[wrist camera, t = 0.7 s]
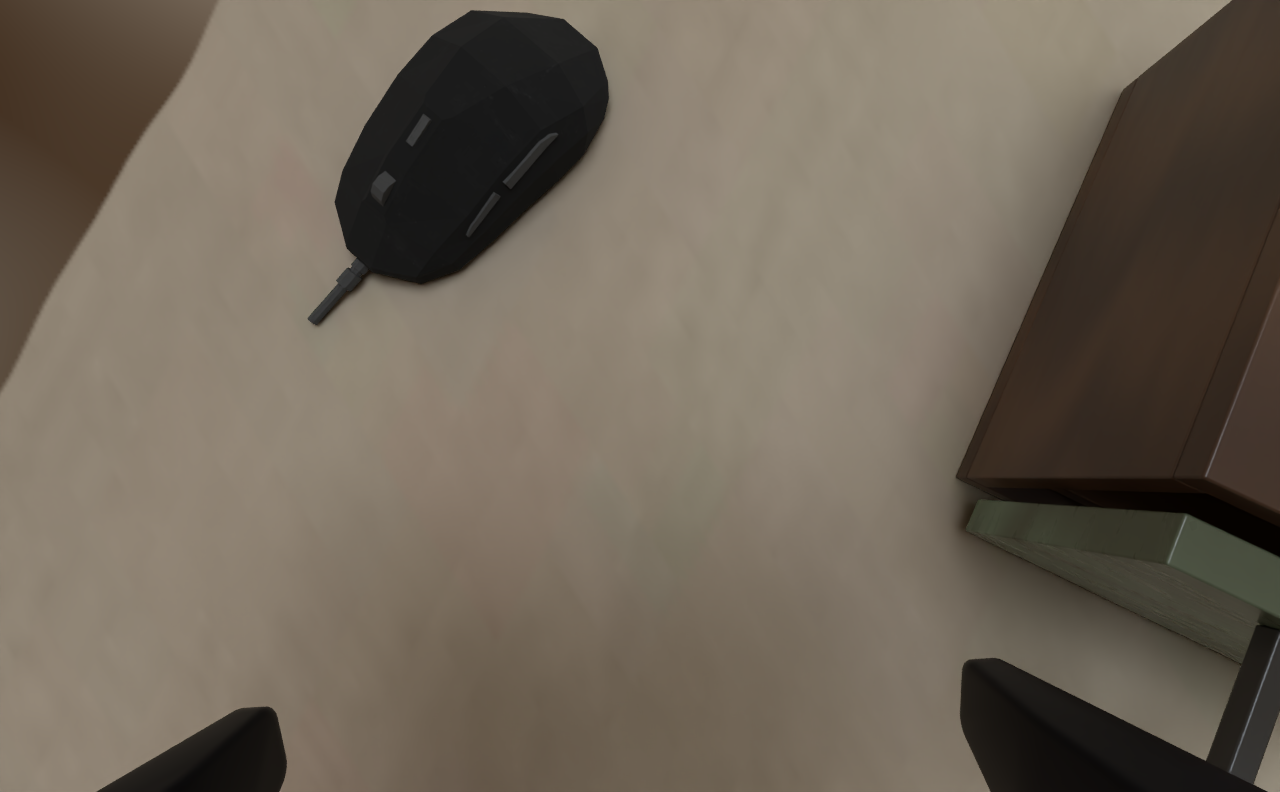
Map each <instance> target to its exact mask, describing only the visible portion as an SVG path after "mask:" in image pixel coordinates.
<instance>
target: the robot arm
mask: <svg viewBox="0 0 1280 792" xmlns="http://www.w3.org/2000/svg"><path fill="white" fill-rule="evenodd" d="M960 719H961V725H962V729H963V732H964V735H965V737H966V740H967V742H968V744H969V746H970V748H971V750H972V753H973V755H974V757H975V759H976V761H977V763H978V765H979V768H980V770H981V772H982V774H983V776H984V778H985V780H986V783H987V785H988V787H989V789H990V791H991V792H1267V791H1265V790H1263V789H1261V788H1259V787H1257V786H1255V785H1253V784H1251V783H1249V782H1247V781H1245V780H1243V779H1241V778H1239V777H1237V776H1235V775H1233V774H1231V773H1229V772H1227V771H1225V770H1223V769H1221V768H1219V767H1217V766H1215V765H1213V764H1211V763H1209V762H1207V761H1205V760H1202V759H1200V758H1198V757H1196V756H1194V755H1192V754H1190V753H1188V752H1186V751H1184V750H1182V749H1180V748H1178V747H1176V746H1174V745H1172V744H1170V743H1168V742H1166V741H1164V740H1162V739H1160V738H1158V737H1156V736H1154V735H1152V734H1150V733H1148V732H1146V731H1144V730H1142V729H1140V728H1138V727H1136V726H1134V725H1132V724H1130V723H1128V722H1126V721H1124V720H1122V719H1120V718H1118V717H1116V716H1114V715H1112V714H1110V713H1108V712H1106V711H1104V710H1102V709H1100V708H1098V707H1096V706H1094V705H1092V704H1090V703H1088V702H1085V701H1083V700H1081V699H1079V698H1077V697H1075V696H1073V695H1071V694H1069V693H1067V692H1065V691H1063V690H1061V689H1059V688H1057V687H1055V686H1053V685H1051V684H1049V683H1047V682H1045V681H1043V680H1041V679H1039V678H1037V677H1035V676H1033V675H1031V674H1029V673H1027V672H1025V671H1023V670H1021V669H1019V668H1017V667H1015V666H1013V665H1011V664H1009V663H1007V662H1005V661H1003V660H1001V659H997V658H986V659H972V660H968V661H967V662H965V663H964V665H963V668H962V680H961V704H960ZM286 768H287V760H286V754H285V749H284V745H283V740H282V735H281V731H280V726H279V722H278V717H277V714H276V712H275V711H274V710H273V709H272V708H270V707H252V708H241V709H238V710H235V711H234V712H232V713H230V714H228V715H227V716H225V717H223V718H222V719H220V720H218V721H216V722H215V723H213V724H211V725H210V726H208V727H206V728H205V729H203V730H201V731H199V732H198V733H196V734H194V735H193V736H191V737H189V738H187V739H186V740H184V741H182V742H181V743H179V744H177V745H175V746H174V747H172V748H170V749H169V750H167V751H165V752H164V753H162V754H160V755H158V756H157V757H155V758H153V759H152V760H150V761H148V762H146V763H145V764H143V765H141V766H140V767H138V768H136V769H134V770H133V771H131V772H129V773H128V774H126V775H124V776H123V777H121V778H119V779H117V780H116V781H114V782H112V783H111V784H109V785H107V786H105V787H104V788H102V789H100V790H99V791H97V792H279V791H280V789H281V787H282V784H283V781H284V778H285V774H286Z"/></svg>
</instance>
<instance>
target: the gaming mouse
mask: <svg viewBox="0 0 1280 792" xmlns="http://www.w3.org/2000/svg"><path fill="white" fill-rule="evenodd" d="M608 99H609V94H608V80H607V77H606V74H605V71H604V67H603V64H602V61H601V58H600V55H599V52H598V48H597V47H596V46H595V45H593V44H592V43H591V42H590V41H589V40H587V39H586V38H585V37H584V36H583V35H582V34H580V33H579V32H578V31H577V30H576V29H575V28H573V27H572V26H571V25H570V24H569V23H568V22H566V21H565V20H564V19H560V18H554V17H548V16H543V15H537V14H531V13H520V12H497V11H474V10H471V11H470V12H468V13H467V14H465V15H463V16H462V17H460V18H459V19H457V20H456V21H454V22H452V23H451V24H449V25H448V26H446V27H445V28H443V29H442V30H440V31H438V32H437V33H435V34H434V35H432V36H431V37H430V39H429V40H428V41H427V42H426V43H425V44H424V45H423V47H422V48H421V49H420V50H419V51H418V52H417V53H416V54H415V56H414V57H413V58H412V59H411V60H410V61H409V62H408V64H407V65H406V66H405V67H404V68H403V69H402V70H401V72H400V73H399V74H398V75H397V77H396V78H395V80H394V81H393V83H392V84H391V86H390V87H389V89H388V91H387V92H386V94H385V95H384V97H383V98H382V100H381V101H380V103H379V104H378V106H377V108H376V109H375V111H374V112H373V114H372V115H371V117H370V118H369V120H368V121H367V123H366V125H365V126H364V128H363V130H362V132H361V134H360V137H359V139H358V141H357V143H356V145H355V147H354V149H353V151H352V153H351V155H350V157H349V159H348V161H347V163H346V165H345V167H344V169H343V171H342V175H341V179H340V183H339V187H338V191H337V195H336V199H335V205H336V209H337V213H338V217H339V220H340V224H341V228H342V232H343V236H344V239H345V243H346V247H347V249H348V250H349V251H350V252H351V253H352V254H353V255H354V256H356V257H357V258H356V260H355V261H354V262H353V263H352V264H351V265H352V267H351V268H347V269H346V270H345V271H344V272H343V273H342V274H341V275H340V276H339V278H338V279H337V280H336V281H337V282H338V284H337V285H336V287H335V288H334V289H333V290H332V291H331V292H330V293H329V294H328V296H327V297H326V298H325V299H324V300H323V301H322V302H321V304H320V305H319V306H318V307H317V308H316V309H315V310H314V312H313V313H312V314H311V315H310V316H309V317H308V320H309V321H310V322H312V323H313V324H315V325H317V324H318V323H319V322H320V321H321V319H322V318H323V317H324V316H325V315H326V314H327V313H328V311H329V310H330V309H331V308H332V307H333V306H334V305H335V304H336V302H337V301H338V300H339V299H340V298H341V297H342V296H343V294H344V293H345V292H346V291H347V290H348V291H352V290H353V288H354V287H355V286H356V285H357V284H358V283H359V282H360V281H361V279H362V278H361V277H360V276H361V275H362V274H366V273H367V271H368V270H369V269H370V270H371V271H372V272H374V273H378V274H382V275H387V276H391V277H395V278H399V279H403V280H408V281H412V282H416V283H420V284H422V283H424V282H427V281H430V280H433V279H435V278H438V277H441V276H444V275H446V274H449V273H452V272H455V271H458V270H460V269H461V268H462V267H463V266H465V265H466V264H467V263H468V262H469V261H470V260H472V259H473V258H474V257H475V256H476V255H477V254H479V253H480V252H481V251H482V250H483V249H484V248H485V247H487V246H488V245H489V244H490V243H491V242H492V241H494V240H495V239H496V238H497V237H498V236H499V235H500V234H501V233H502V232H503V231H504V230H505V229H506V228H507V227H508V226H509V225H510V224H511V223H512V222H513V221H514V220H516V219H517V218H518V217H519V216H520V215H521V214H522V213H523V212H524V211H525V210H526V209H527V208H528V207H529V206H530V205H531V204H532V203H534V202H535V201H536V200H537V199H538V198H539V197H540V196H541V195H543V194H544V193H545V192H546V191H547V190H548V189H549V188H550V187H552V186H553V185H554V184H555V183H556V182H557V181H558V180H559V179H560V178H561V177H562V176H563V175H564V174H565V173H566V172H567V171H568V170H569V169H570V168H571V167H572V166H573V165H574V164H575V163H576V162H577V161H578V160H579V159H580V158H581V157H582V156H583V155H584V153H585V151H586V149H587V148H588V146H589V144H590V142H591V141H592V139H593V137H594V135H595V133H596V132H597V130H598V128H599V126H600V125H601V123H602V121H603V119H604V116H605V112H606V108H607V103H608Z"/></svg>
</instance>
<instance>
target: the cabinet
mask: <svg viewBox="0 0 1280 792" xmlns="http://www.w3.org/2000/svg"><path fill="white" fill-rule="evenodd" d="M957 478H958V479H960V480H962V481H964V482H966V483H968V484H970V485H972V486H975V487H977V488H979V489H981V490H983V491H985V492H987V493H989V494H991V495H993V496H995V497H998V498H1000V499H1002V500H1004V501H1011V502H1026V503H1041V504H1056V505H1071V506H1085V505H1083V504H1081V503H1079V502H1077V501H1074V500H1072V499H1070V498H1068V497H1066V496H1064V495H1062V494H1060V493H1058V492H1055V491H1053V490H1051V489H1066V490H1100V491H1135V492H1170V493H1207V494H1209V495H1211V496H1214V497H1216V498H1218V499H1220V500H1222V501H1224V502H1226V503H1229V504H1231V505H1233V506H1235V507H1237V508H1239V509H1241V510H1244V511H1246V512H1248V513H1250V514H1252V515H1254V516H1256V517H1259V518H1261V519H1263V520H1265V521H1267V522H1269V523H1271V524H1274V525H1276V526H1278V527H1280V0H1232V1H1231V2H1230V3H1228V4H1227V5H1226V6H1225V7H1223V8H1222V9H1221V10H1220V11H1219V12H1217V13H1216V14H1215V15H1214V16H1212V17H1211V18H1210V19H1209V20H1208V21H1206V22H1205V23H1204V24H1203V25H1201V26H1200V27H1199V28H1198V29H1197V30H1195V31H1194V32H1193V33H1192V34H1190V35H1189V36H1188V37H1187V38H1186V39H1184V40H1183V41H1182V42H1181V43H1179V44H1178V45H1177V46H1176V47H1175V48H1173V49H1172V50H1171V51H1170V52H1168V53H1167V54H1166V55H1165V56H1164V57H1162V58H1161V59H1160V60H1159V61H1157V62H1156V63H1155V64H1154V65H1153V66H1151V67H1150V68H1149V69H1148V70H1146V71H1145V72H1144V73H1143V74H1142V75H1140V76H1139V78H1137V79H1136V80H1134V81H1133V82H1132V83H1131V84H1130V85H1128V86H1127V87H1126V88H1125V89H1124V90H1123V92H1122V94H1121V97H1120V99H1119V101H1118V104H1117V106H1116V108H1115V111H1114V113H1113V115H1112V118H1111V120H1110V122H1109V124H1108V127H1107V129H1106V131H1105V134H1104V136H1103V138H1102V141H1101V143H1100V145H1099V148H1098V150H1097V152H1096V155H1095V157H1094V159H1093V162H1092V164H1091V166H1090V169H1089V171H1088V173H1087V175H1086V178H1085V180H1084V182H1083V185H1082V187H1081V189H1080V192H1079V194H1078V196H1077V199H1076V201H1075V203H1074V206H1073V208H1072V210H1071V213H1070V215H1069V217H1068V220H1067V222H1066V224H1065V226H1064V229H1063V231H1062V233H1061V236H1060V238H1059V240H1058V243H1057V245H1056V247H1055V250H1054V252H1053V254H1052V257H1051V259H1050V261H1049V264H1048V266H1047V268H1046V271H1045V273H1044V275H1043V277H1042V280H1041V282H1040V284H1039V287H1038V289H1037V291H1036V294H1035V296H1034V298H1033V301H1032V303H1031V305H1030V308H1029V310H1028V312H1027V315H1026V317H1025V319H1024V322H1023V324H1022V326H1021V328H1020V331H1019V333H1018V335H1017V338H1016V340H1015V342H1014V345H1013V347H1012V349H1011V352H1010V354H1009V356H1008V359H1007V361H1006V363H1005V366H1004V368H1003V370H1002V373H1001V375H1000V377H999V379H998V382H997V384H996V386H995V389H994V391H993V393H992V396H991V398H990V400H989V403H988V405H987V407H986V410H985V412H984V414H983V417H982V419H981V421H980V423H979V426H978V428H977V430H976V433H975V435H974V437H973V440H972V442H971V444H970V447H969V449H968V451H967V454H966V456H965V458H964V461H963V463H962V465H961V468H960V470H959V472H958V474H957ZM1086 507H1087V506H1086Z"/></svg>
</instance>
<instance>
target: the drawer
mask: <svg viewBox="0 0 1280 792" xmlns="http://www.w3.org/2000/svg"><path fill="white" fill-rule="evenodd" d="M1051 490H1053V491H1055V492H1058V493H1060V494H1062V495H1064V496H1066V497H1068V498H1070V499H1072V500H1074V501H1077V502H1079V503H1081V504H1083V505H1085V506H1071V505H1056V504H1041V503H1026V502H1011V501H996V500H981V499H979V500H978V501H977V504H976V506H975V508H974V511H973V513H972V515H971V518H970V520H969V522H968V525H967V527H966V531H967V532H969V533H971V534H973V535H975V536H977V537H980V538H982V539H984V540H986V541H988V542H990V543H992V544H994V545H996V546H998V547H1000V548H1002V549H1004V550H1006V551H1009V552H1011V553H1013V554H1015V555H1017V556H1019V557H1021V558H1023V559H1025V560H1027V561H1029V562H1031V563H1033V564H1035V565H1037V566H1040V567H1042V568H1044V569H1046V570H1048V571H1050V572H1052V573H1054V574H1056V575H1058V576H1060V577H1062V578H1064V579H1066V580H1069V581H1071V582H1073V583H1075V584H1077V585H1079V586H1081V587H1083V588H1085V589H1087V590H1089V591H1091V592H1093V593H1095V594H1097V595H1100V596H1102V597H1104V598H1106V599H1108V600H1110V601H1112V602H1114V603H1116V604H1118V605H1120V606H1122V607H1124V608H1126V609H1129V610H1131V611H1133V612H1135V613H1137V614H1139V615H1141V616H1143V617H1145V618H1147V619H1149V620H1151V621H1153V622H1155V623H1157V624H1160V625H1162V626H1164V627H1166V628H1168V629H1170V630H1172V631H1174V632H1176V633H1178V634H1180V635H1182V636H1184V637H1186V638H1189V639H1191V640H1193V641H1195V642H1197V643H1199V644H1201V645H1203V646H1205V647H1207V648H1209V649H1211V650H1213V651H1215V652H1217V653H1220V654H1222V655H1224V656H1226V657H1228V658H1230V659H1232V660H1234V661H1236V662H1238V663H1240V664H1242V665H1241V667H1240V670H1239V673H1238V676H1237V678H1236V681H1235V684H1234V686H1233V689H1232V692H1231V695H1230V697H1229V700H1228V703H1227V705H1226V708H1225V711H1224V713H1223V716H1222V719H1221V722H1220V724H1219V727H1218V730H1217V732H1216V735H1215V738H1214V741H1213V743H1212V746H1211V749H1210V751H1209V754H1208V757H1207V760H1206V761H1207V762H1209V763H1211V764H1213V765H1215V766H1217V767H1219V768H1221V769H1223V770H1225V771H1227V772H1229V773H1231V774H1233V775H1235V776H1237V777H1239V778H1241V779H1243V780H1245V781H1247V782H1249V783H1251V784H1254V781H1255V778H1256V775H1257V773H1258V770H1259V767H1260V764H1261V761H1262V759H1263V756H1264V753H1265V750H1266V748H1267V745H1268V742H1269V739H1270V736H1271V734H1272V731H1273V728H1274V725H1275V722H1276V720H1277V717H1278V714H1279V711H1280V527H1278V526H1276V525H1274V524H1271V523H1269V522H1267V521H1265V520H1263V519H1261V518H1259V517H1256V516H1254V515H1252V514H1250V513H1248V512H1246V511H1244V510H1241V509H1239V508H1237V507H1235V506H1233V505H1231V504H1229V503H1226V502H1224V501H1222V500H1220V499H1218V498H1216V497H1214V496H1211V495H1209V494H1207V493H1170V492H1135V491H1100V490H1066V489H1051ZM1086 506H1087V507H1086Z"/></svg>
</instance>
